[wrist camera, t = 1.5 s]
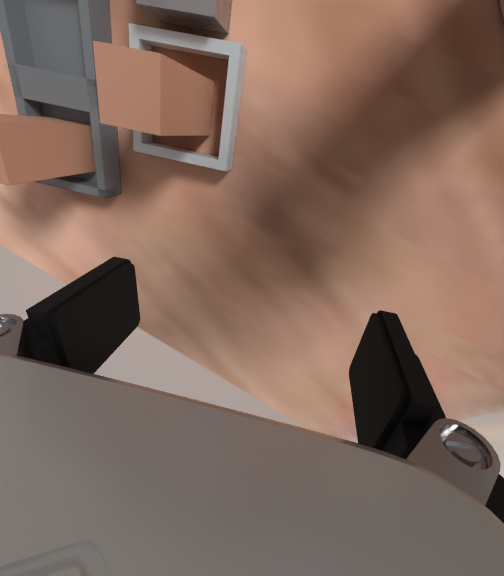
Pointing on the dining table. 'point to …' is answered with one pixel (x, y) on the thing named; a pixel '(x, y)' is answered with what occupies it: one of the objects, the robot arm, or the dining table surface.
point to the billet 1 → (43, 148)
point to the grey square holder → (191, 13)
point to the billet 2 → (151, 92)
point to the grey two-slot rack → (62, 76)
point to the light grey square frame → (236, 55)
